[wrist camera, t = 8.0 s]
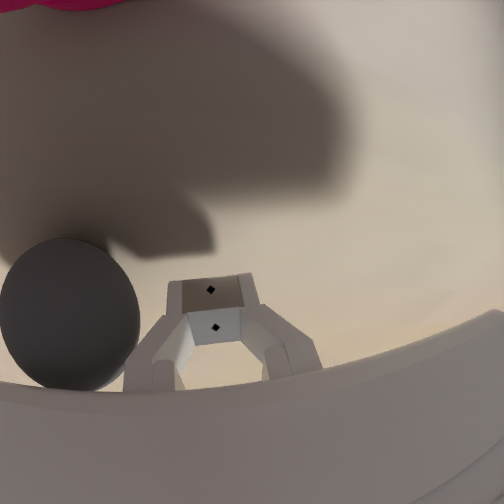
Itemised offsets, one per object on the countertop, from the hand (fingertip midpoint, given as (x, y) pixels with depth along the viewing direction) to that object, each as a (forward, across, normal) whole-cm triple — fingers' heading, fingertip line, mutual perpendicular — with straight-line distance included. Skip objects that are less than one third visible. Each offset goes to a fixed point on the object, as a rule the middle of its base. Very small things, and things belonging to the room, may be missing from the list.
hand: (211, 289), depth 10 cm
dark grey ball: (-1, -5, 0) cm, 6 cm away
